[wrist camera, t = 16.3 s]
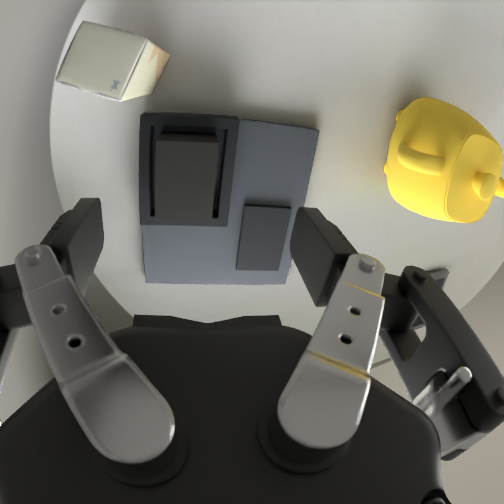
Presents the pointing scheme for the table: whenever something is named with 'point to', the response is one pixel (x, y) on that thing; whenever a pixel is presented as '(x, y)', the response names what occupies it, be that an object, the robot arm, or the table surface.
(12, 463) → the robot arm
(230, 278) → the base pad
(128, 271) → the table surface
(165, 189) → the black block
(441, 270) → the cell phone
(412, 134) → the teapot
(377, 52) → the table surface
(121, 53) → the box
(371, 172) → the table surface
